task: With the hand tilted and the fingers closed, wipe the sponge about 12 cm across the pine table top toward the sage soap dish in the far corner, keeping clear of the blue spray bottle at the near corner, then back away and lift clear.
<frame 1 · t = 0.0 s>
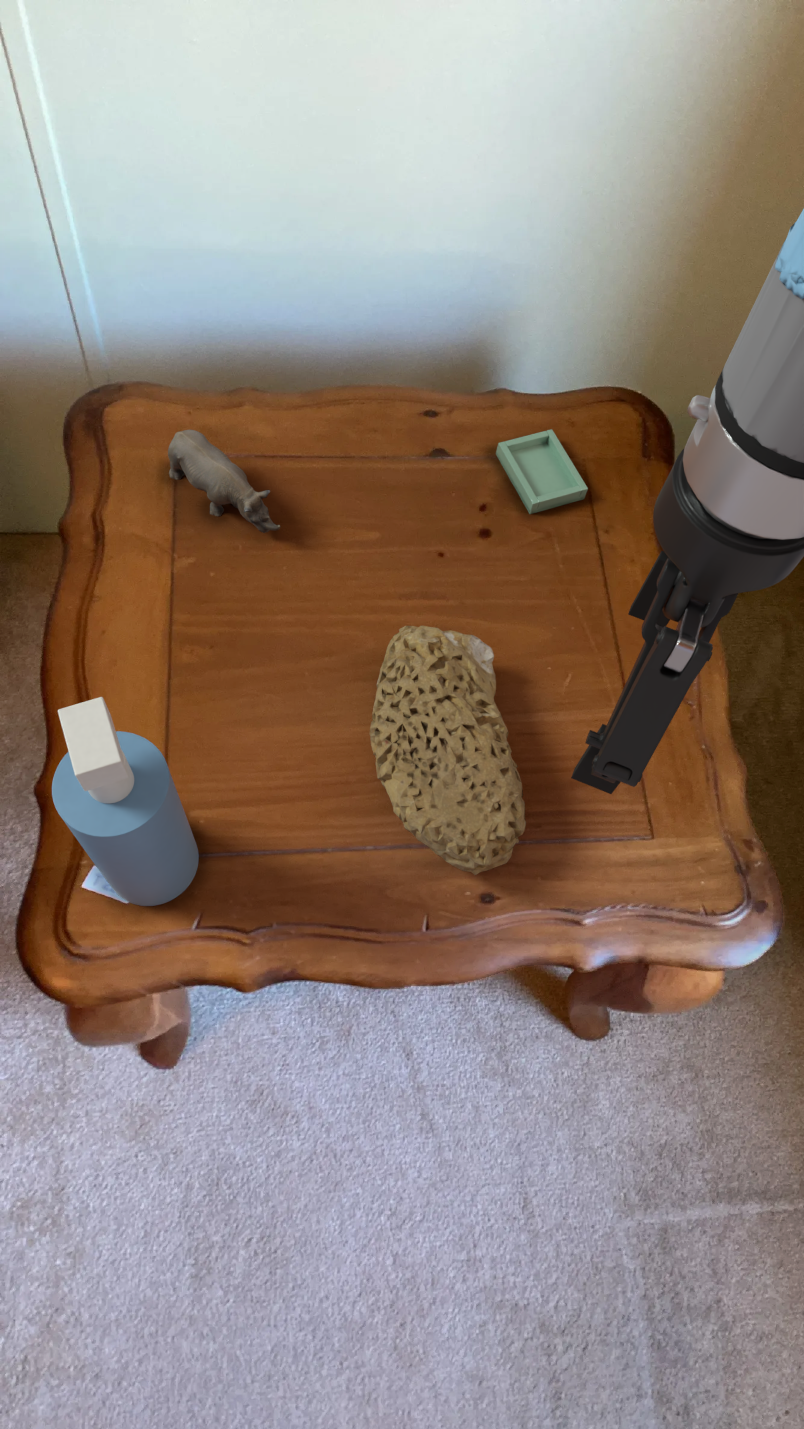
hand: (621, 695, 62), 16 cm above the table, tool pointing down, fingers open, 13 cm apart
spray bottle: (152, 862, 71), on the table
rhino figurine: (227, 508, 86), on the table
sponge: (443, 762, 76), on the table
soap dish: (538, 477, 91), on the table
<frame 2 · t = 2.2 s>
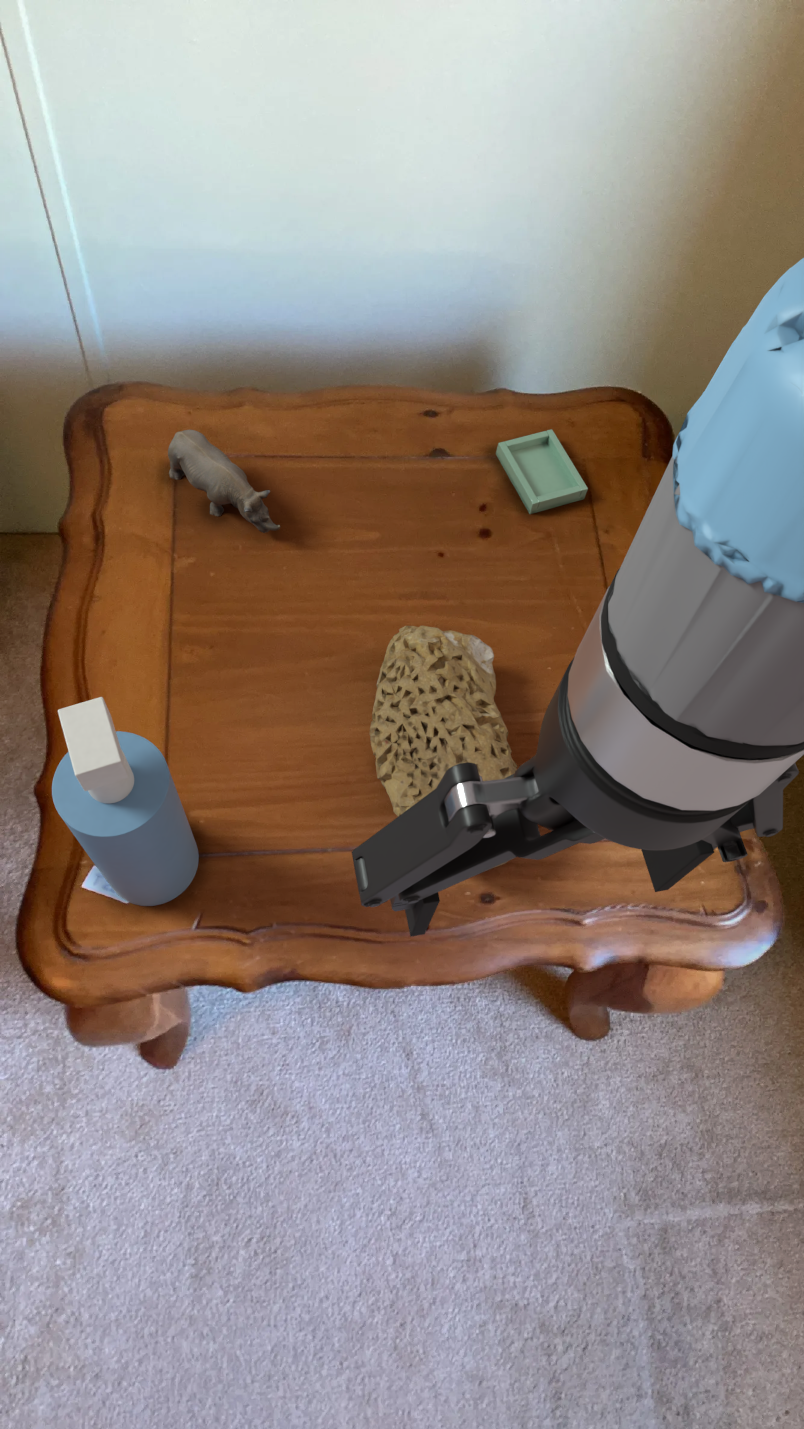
hand: (535, 888, 49), 22 cm above the table, tool pointing down, fingers open, 13 cm apart
nothing on the table moved.
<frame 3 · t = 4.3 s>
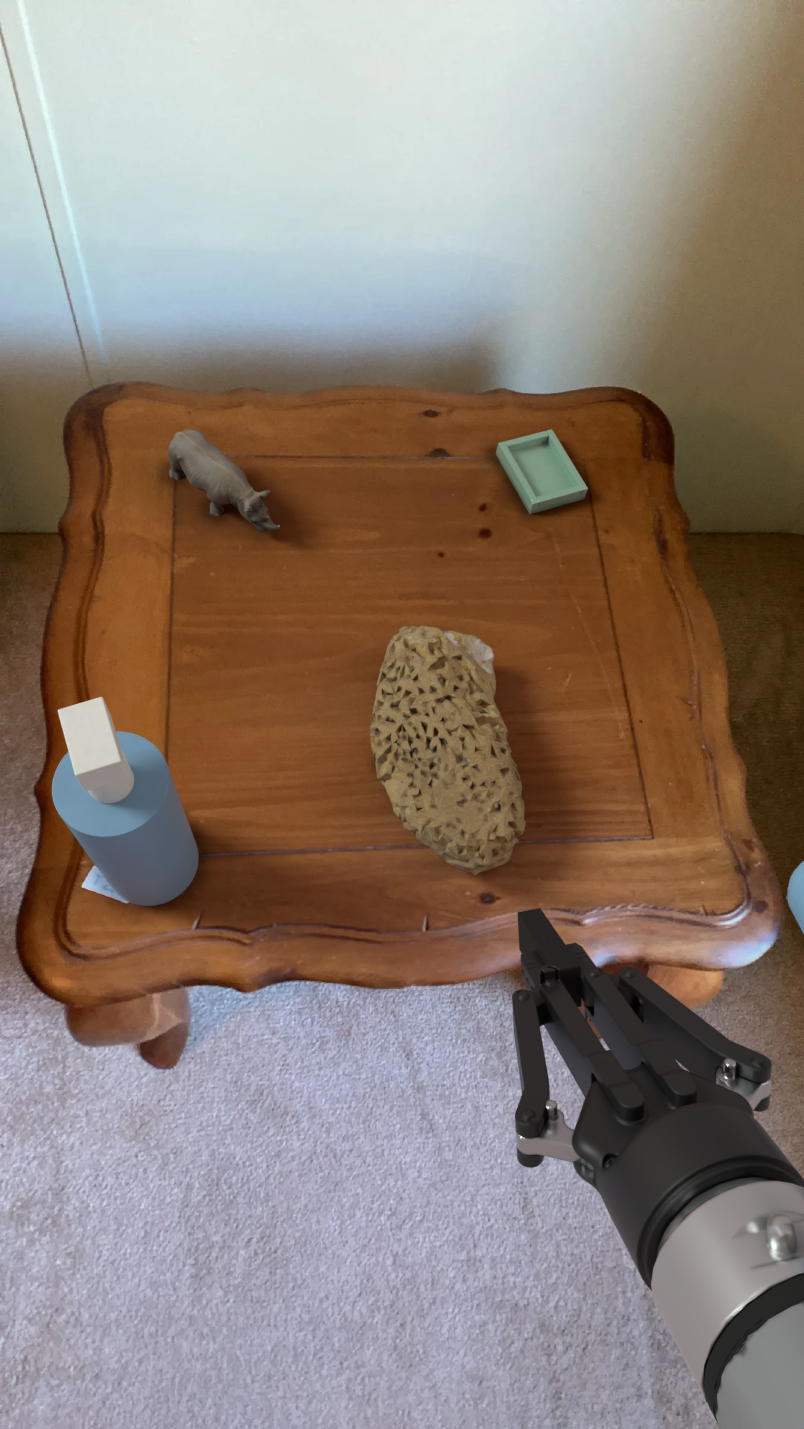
hand: (529, 928, 58), 13 cm above the table, tool tilted 45°, fingers closed
nothing on the table moved.
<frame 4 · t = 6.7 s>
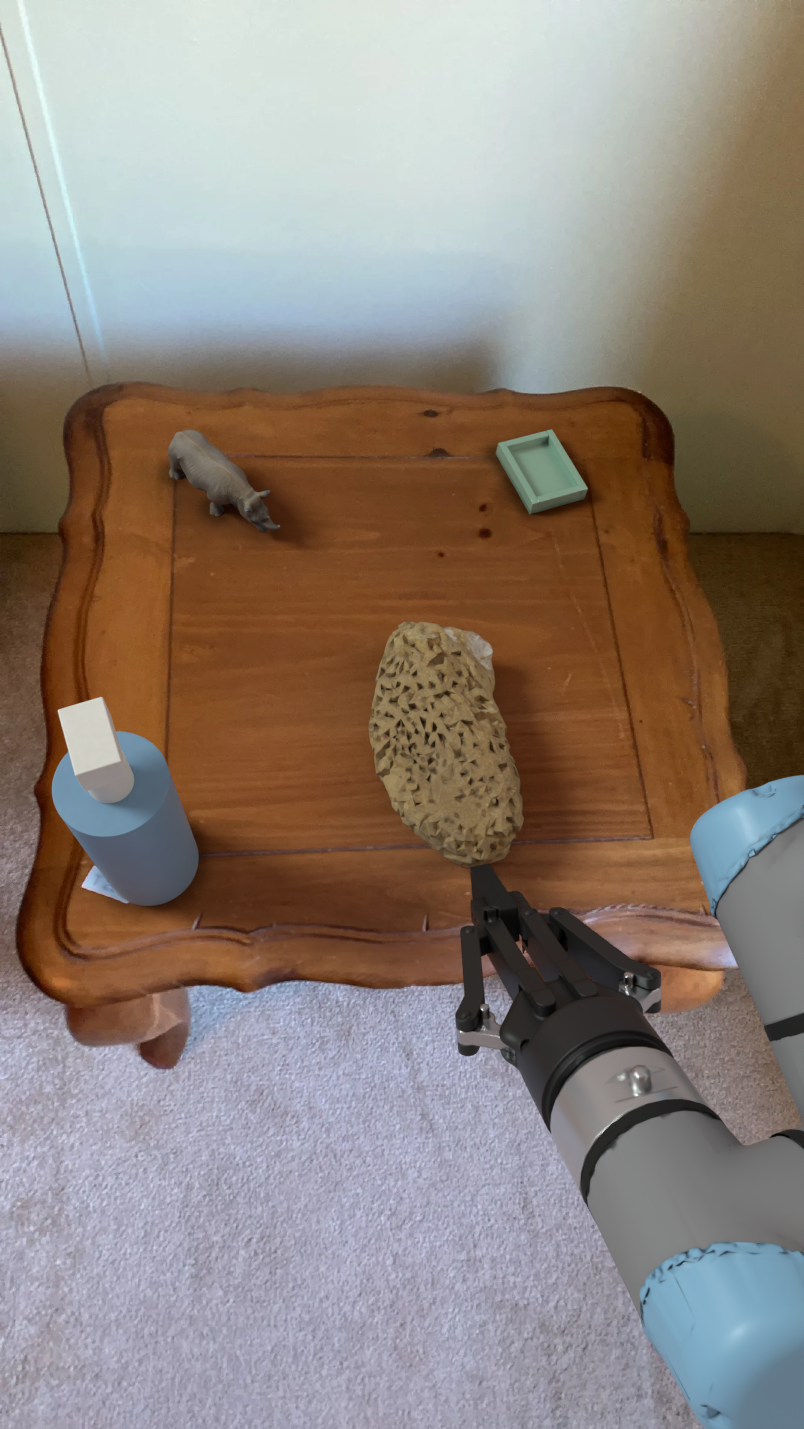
hand: (480, 881, 69), 3 cm above the table, tool tilted 45°, fingers closed
sponge: (442, 758, 77), on the table, touching gripper
everything else where it was.
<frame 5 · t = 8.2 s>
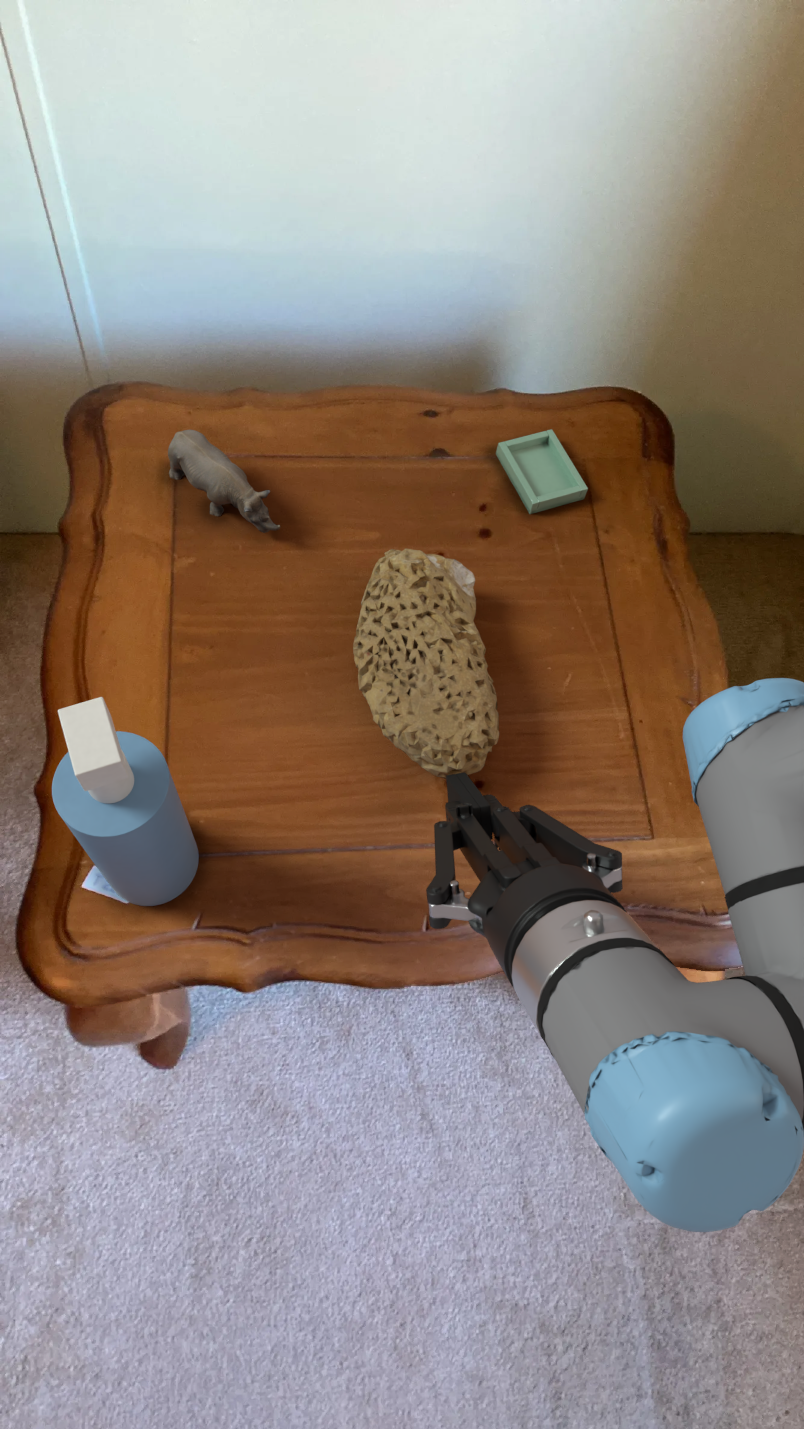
hand: (456, 789, 72), 3 cm above the table, tool tilted 45°, fingers closed
sponge: (424, 681, 80), on the table, touching gripper
everything else where it was.
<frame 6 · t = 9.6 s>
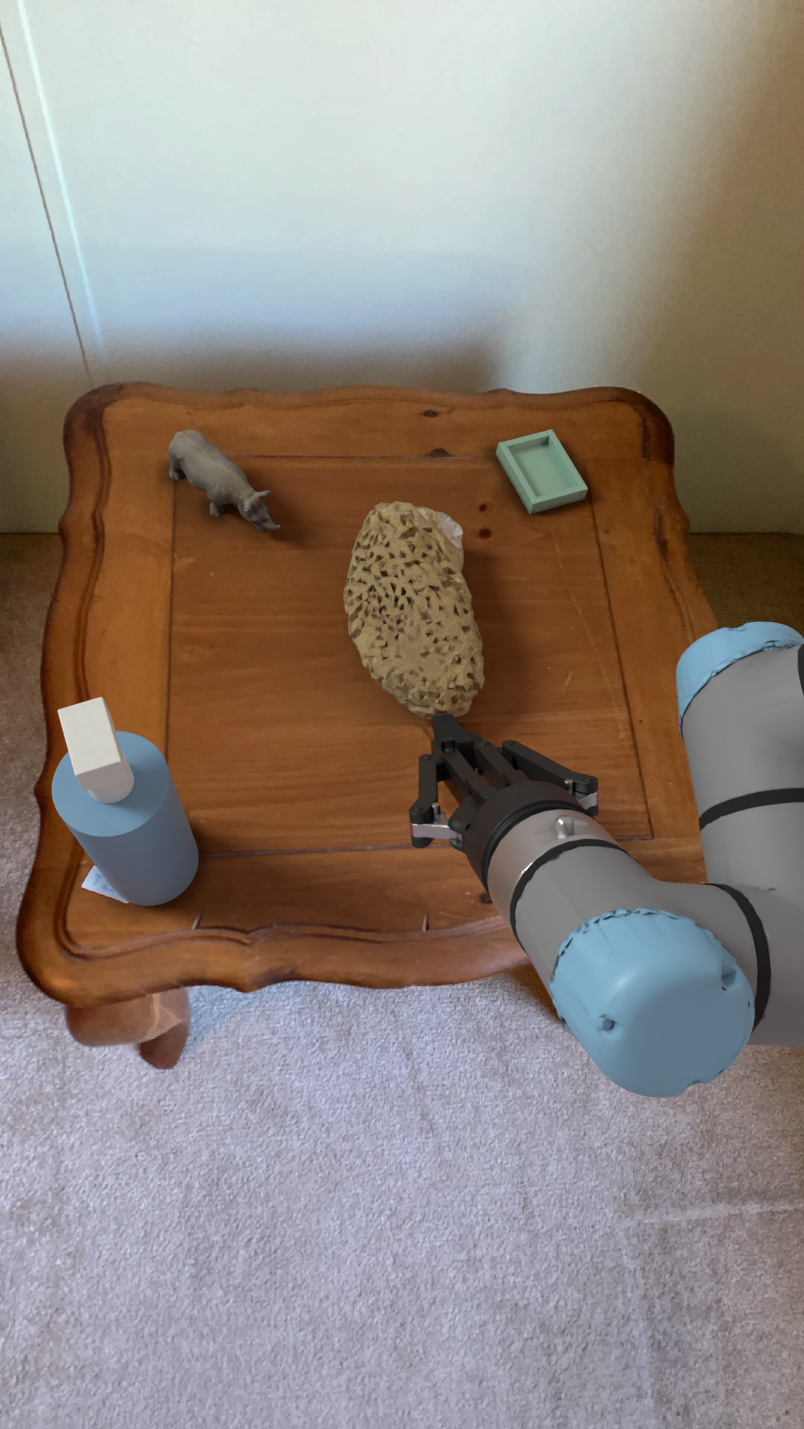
hand: (442, 730, 74), 3 cm above the table, tool tilted 45°, fingers closed
sponge: (413, 630, 82), on the table, touching gripper
everything else where it was.
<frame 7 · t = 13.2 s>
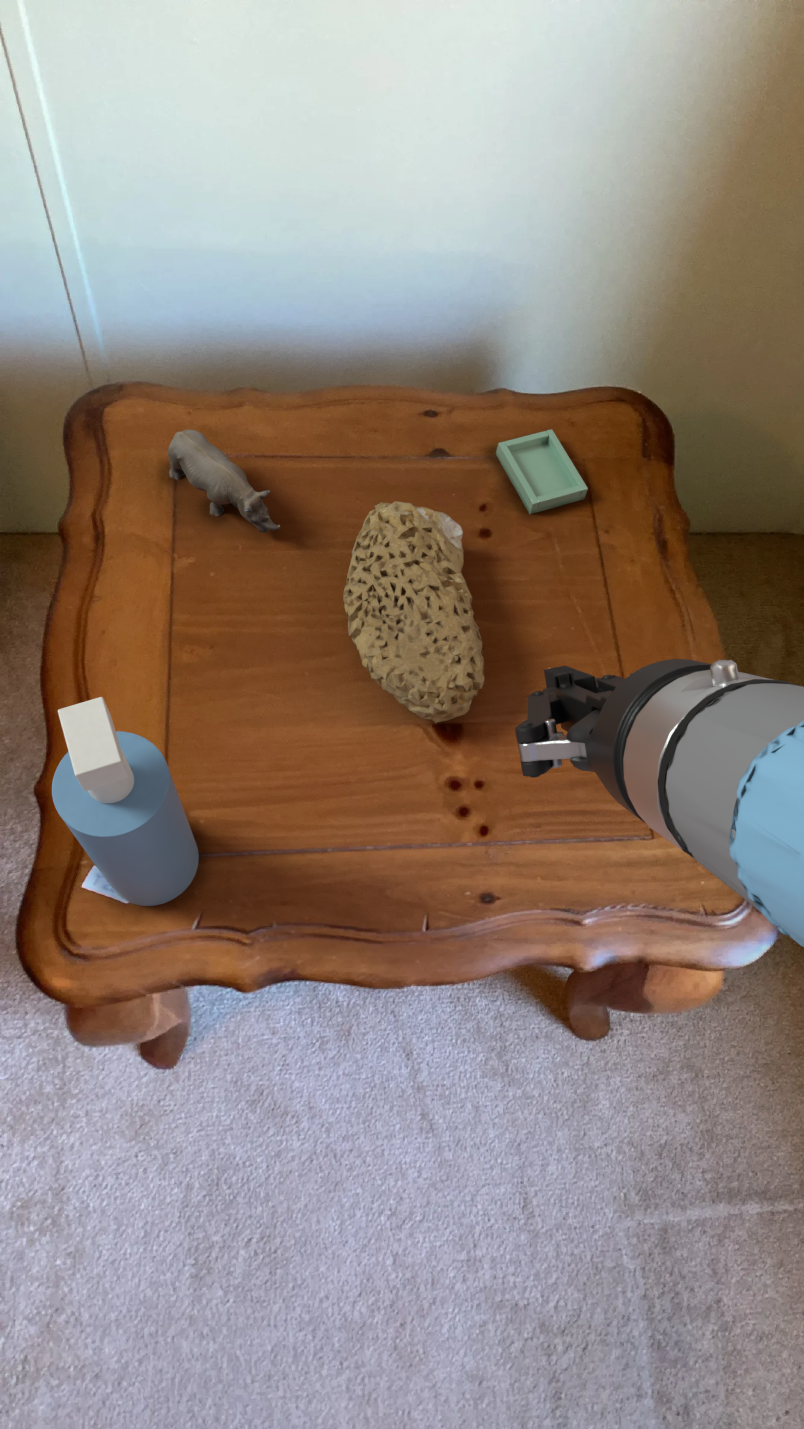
hand: (557, 687, 61), 16 cm above the table, tool tilted 35°, fingers closed
sponge: (413, 630, 82), on the table
everything else where it was.
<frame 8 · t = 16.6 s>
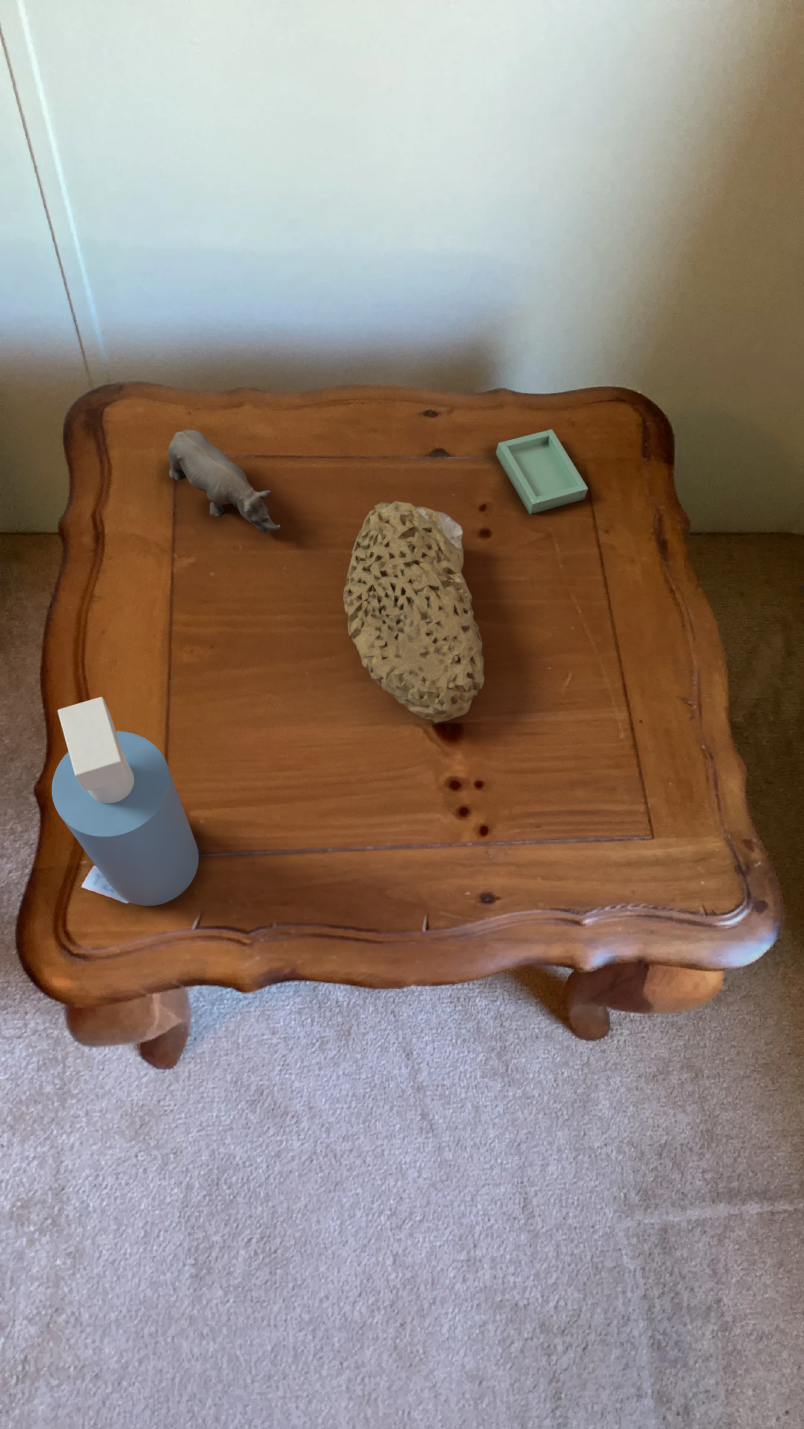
nothing on the table moved.
at the end: sponge moved 13.0 cm from its start; sponge 22.2 cm from the soap dish (horizontally); sponge touching table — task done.
